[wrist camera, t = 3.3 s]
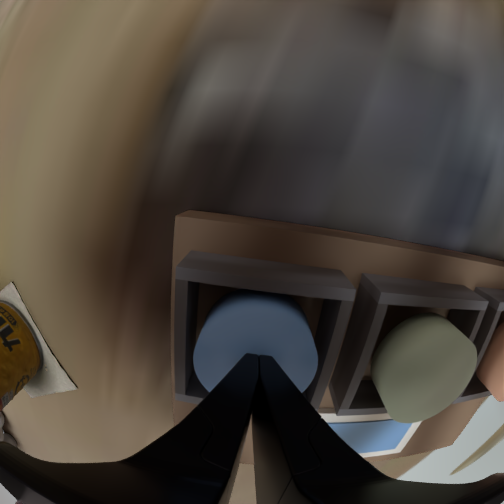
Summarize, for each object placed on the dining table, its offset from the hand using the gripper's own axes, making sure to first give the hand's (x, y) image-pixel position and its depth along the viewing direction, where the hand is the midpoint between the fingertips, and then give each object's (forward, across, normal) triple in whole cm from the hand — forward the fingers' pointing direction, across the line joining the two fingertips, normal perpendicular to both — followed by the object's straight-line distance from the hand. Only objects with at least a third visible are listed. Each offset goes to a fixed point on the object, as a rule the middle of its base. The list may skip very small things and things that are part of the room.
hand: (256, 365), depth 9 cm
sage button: (+1, -7, 0) cm, 7 cm away
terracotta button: (+1, -13, 0) cm, 13 cm away
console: (+5, -6, +3) cm, 9 cm away
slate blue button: (+2, 0, 0) cm, 2 cm away
